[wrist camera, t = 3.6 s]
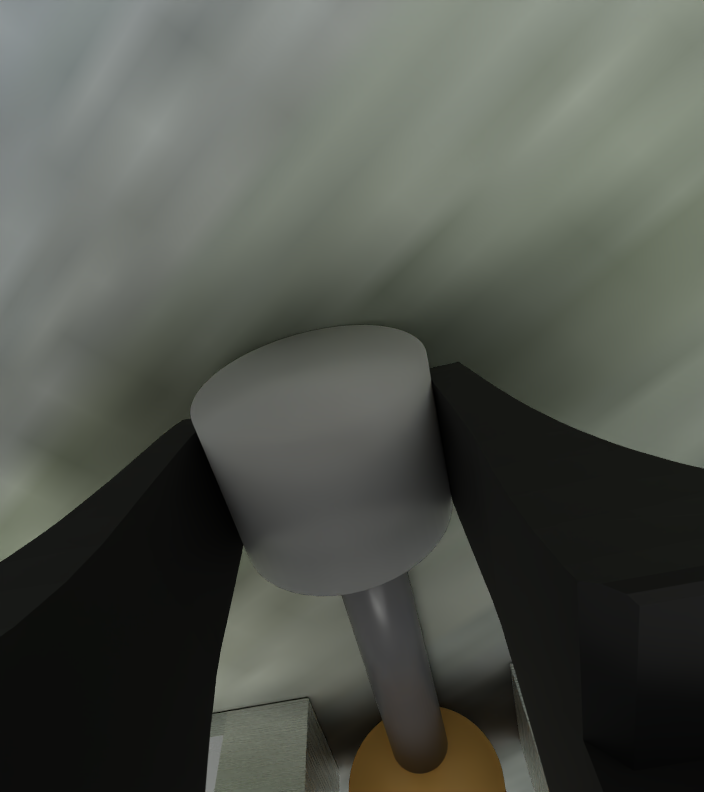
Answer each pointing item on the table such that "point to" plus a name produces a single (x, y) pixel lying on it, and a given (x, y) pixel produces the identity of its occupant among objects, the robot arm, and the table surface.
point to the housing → (302, 749)
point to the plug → (350, 521)
